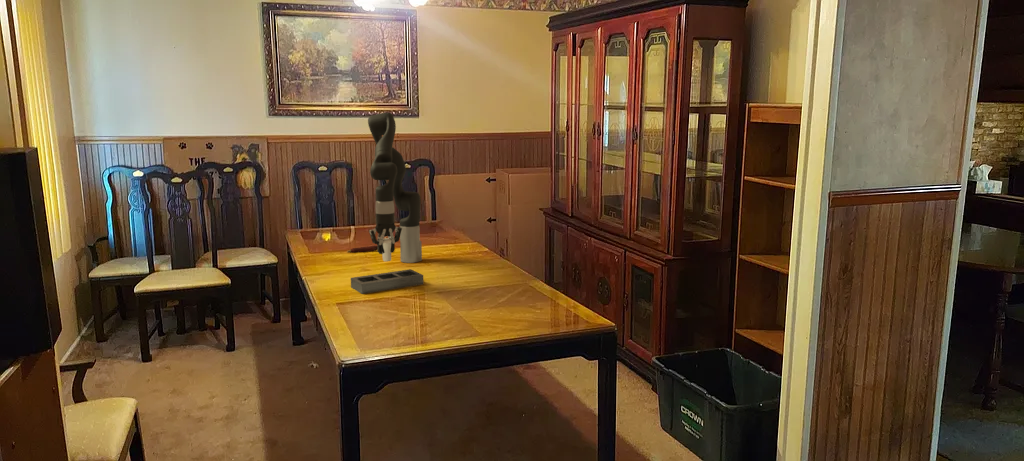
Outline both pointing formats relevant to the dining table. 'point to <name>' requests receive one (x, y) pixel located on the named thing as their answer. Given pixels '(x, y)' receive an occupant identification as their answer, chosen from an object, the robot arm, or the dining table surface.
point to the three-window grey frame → (386, 281)
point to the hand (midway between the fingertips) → (386, 252)
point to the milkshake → (386, 249)
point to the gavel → (363, 249)
